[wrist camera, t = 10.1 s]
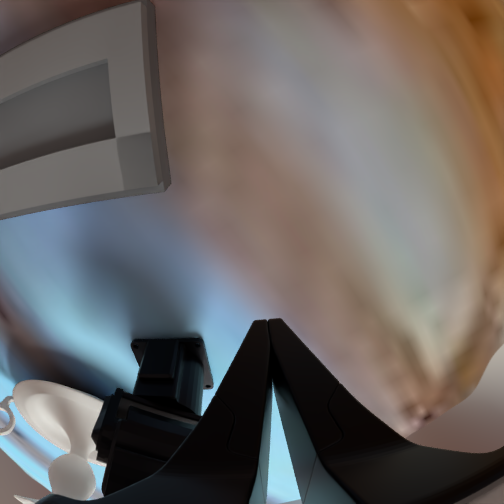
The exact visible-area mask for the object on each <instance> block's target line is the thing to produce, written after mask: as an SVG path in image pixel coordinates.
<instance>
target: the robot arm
mask: <svg viewBox="0 0 504 504" xmlns="http://www.w3.org/2000/svg"><path fill="white" fill-rule="evenodd" d="M196 343H198V344H196ZM137 345H138V346H137ZM131 348H132V351H133V353H134V355H135V358H136V360H137V362H138V365H139V367H140V368H139V371H138V376H137V380H136V383H135V387H134V390H133V394H130V393H128V392H125V391H123V389H120V388H118V387H117V389H116V392H115V395H113V394H112V395H111V396H105V399H104V402H103V405H102V408H101V411H100V414H99V416H98V419H97V421H96V423H95V426H94V428H93V431H92V434H91V438H92V440H93V441H94V443H95V445H96V449H95V451H98V453H97V458H96V460H97V461H99V462H102V463H105V464H106V469H105V473H104V477H103V482H102V493H103V495H104V497H102V498H99V499H96V500H76V499H72V498H69V497H66V496H62V495H59V494H49V495H47V496H46V497H43V498H42V499H40V500H38V501H37V502H36V503H35V504H266V499H267V484H268V468H269V451H270V433H271V414H272V389H273V388H274V393H275V397H276V401H277V405H278V409H279V413H280V417H281V421H282V425H283V429H284V433H285V437H286V441H287V445H288V449H289V453H290V457H291V461H292V465H293V469H294V473H295V477H296V481H297V485H298V489H299V493H300V497H301V500H302V504H504V446H503V447H501V448H500V449H498V450H495V451H492V452H488V453H467V452H459V451H452V450H445V449H438V448H432V447H426V446H421V445H417V444H415V443H412V442H410V441H409V440H407V439H405V438H404V437H402V436H401V435H399V434H398V433H397V432H395V431H394V430H393V429H392V428H390V427H389V426H388V425H387V424H385V423H384V422H383V421H381V420H380V419H379V418H378V417H376V416H375V415H374V414H373V413H371V412H370V411H369V410H368V409H367V408H366V407H364V406H363V405H362V404H361V403H360V402H359V401H358V400H357V399H355V398H354V397H353V396H352V395H351V394H350V393H349V392H348V391H347V389H346V388H345V387H344V386H343V385H342V384H341V383H339V381H338V380H337V379H336V378H335V377H334V376H333V375H332V373H331V372H330V371H329V370H328V369H327V368H326V367H325V366H324V365H323V364H322V363H321V362H320V360H319V359H318V358H317V357H316V356H315V355H314V354H313V353H312V352H311V351H310V350H309V348H308V347H307V346H306V345H305V344H304V343H303V342H302V341H301V340H300V339H299V338H298V336H297V335H296V334H295V333H294V332H293V331H292V330H291V329H290V328H289V327H288V325H287V324H286V323H285V322H284V321H283V320H282V319H281V318H276V319H269V320H268V322H267V320H265V319H264V320H255V321H253V323H252V325H251V327H250V329H249V331H248V333H247V334H246V336H245V338H244V340H243V342H242V344H241V346H240V348H239V350H238V352H237V354H236V356H235V357H234V359H233V361H232V363H231V365H230V367H229V369H228V371H227V373H226V374H225V376H224V378H223V380H222V382H221V384H220V386H219V387H218V389H217V391H216V393H215V396H213V398H212V400H211V402H210V404H209V406H208V407H207V409H206V411H205V412H204V414H203V416H201V408H202V396H203V390H205V389H212V388H213V384H214V383H213V379H212V374H211V370H210V366H209V362H208V358H207V354H206V349H205V345H204V341H203V340H202V339H200V338H181V339H134V340H132V342H131ZM272 382H273V386H272Z"/></svg>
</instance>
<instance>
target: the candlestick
mask: <svg viewBox="0 0 504 504" xmlns="http://www.w3.org/2000/svg"><path fill="white" fill-rule="evenodd" d="M11 402H14V403H15V405H16V407H17V409H18V411H19V412H20V414H21V415H22V417H23V418H24V419H25V420H26V422H27V423H28V424H29V425H30V426H31V427H32V428H33V429H34V430H35V431H36V432H38V433H39V434H40V435H41V436H43V437H44V438H45V439H46V440H48V441H49V442H51V443H52V444H54V445H55V446H57V447H59V448H60V449H62V450H64V451H66V452H67V453H69V454H64V455H61V456H59V457H58V458H56V459H55V460H54V461H53V462H52V463H51V465H50V467H49V472H48V475H49V481H50V484H51V487H52V494H59V495H62V496H66V497H69V498H72V499H76V500H87V499H88V498H89V497H90V496H91V495H92V494H93V493H94V490H95V488H96V481H95V476H94V473H93V470H92V468H91V466H90V465H89V464H88V462H91V463H94V464H97V465H100V466H104V467H106V464H105V463H102V462H99V461H97V460H96V458H97V453H98V451H95V449H96V445H95V443H94V441H93V440H92V438H91V434H92V431H93V428H94V426H95V423H96V421H97V419H98V416H99V414H100V411H101V408H102V405H103V402H104V401H103V400H101V399H99V398H97V397H95V396H93V395H90V394H88V393H85V392H83V391H80V390H77V389H73V388H70V387H67V386H64V385H60V384H57V383H53V382H49V381H43V380H24V381H21V382H19V383H18V384H16V386H15V387H14V389H13V396H7V397H6V398H5V399H4V400H3V401H2V402H1V403H0V410H3V411H5V412H7V413H8V414H9V417H10V421H9V424H8V425H7V426H6V427H5V428H2V429H0V435H7V434H9V433H10V432H11V431H12V430H13V429H14V426H15V417H14V415H13V413H12V411H11V409H10V408H9V405H10V403H11ZM87 461H88V462H87ZM14 497H15V498H16V499H17V500H19V501H20V502H22V503H23V504H35V503H36V502H37V501H38V500H35V499H30V498H26V497H22V496H18V495H14Z"/></svg>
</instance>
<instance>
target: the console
mask: <svg viewBox="0 0 504 504" xmlns="http://www.w3.org/2000/svg"><path fill="white" fill-rule="evenodd" d="M170 184H171V177H170V170H169V163H168V155H167V148H166V139H165V131H164V122H163V113H162V103H161V93H160V82H159V70H158V56H157V41H156V21H155V6H154V5H153V4H152V3H151V2H150V1H149V0H135V1H131V2H127V3H123V4H120V5H116V6H113V7H110V8H107V9H103V10H100V11H97V12H94V13H91V14H89V15H86V16H83V17H80V18H78V19H75V20H72V21H70V22H67V23H65V24H63V25H60V26H58V27H55V28H53V29H51V30H49V31H46V32H44V33H42V34H40V35H38V36H36V37H34V38H32V39H30V40H28V41H26V42H24V43H22V44H20V45H18V46H16V47H14V48H12V49H11V50H9V51H7V52H5V53H4V54H2V55H0V220H3V219H7V218H12V217H16V216H21V215H26V214H31V213H36V212H41V211H46V210H51V209H56V208H62V207H67V206H73V205H78V204H84V203H90V202H96V201H103V200H109V199H116V198H122V197H129V196H137V195H144V194H152V193H160V192H165V191H166V189H167V188H168V187H169V186H170Z"/></svg>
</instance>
